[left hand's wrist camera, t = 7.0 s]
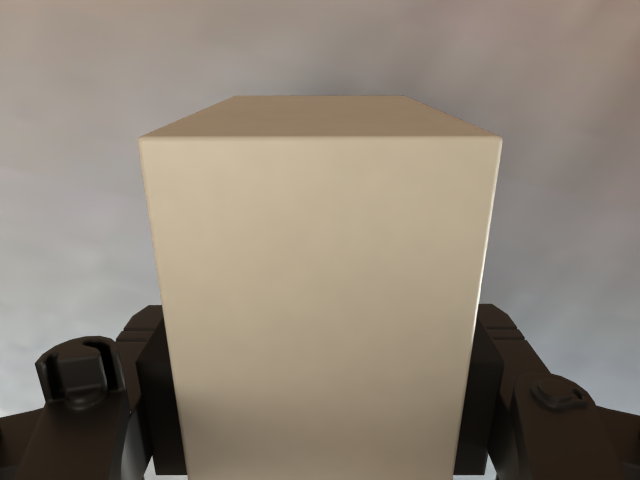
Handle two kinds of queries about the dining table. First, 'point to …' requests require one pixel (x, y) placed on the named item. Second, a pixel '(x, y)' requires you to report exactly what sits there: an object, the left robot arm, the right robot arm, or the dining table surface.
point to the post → (320, 282)
